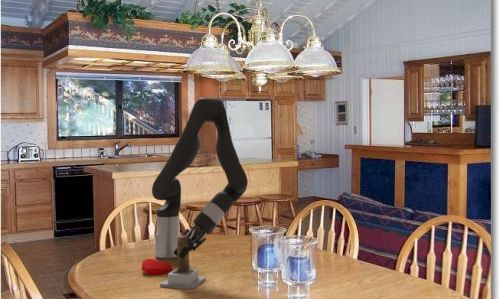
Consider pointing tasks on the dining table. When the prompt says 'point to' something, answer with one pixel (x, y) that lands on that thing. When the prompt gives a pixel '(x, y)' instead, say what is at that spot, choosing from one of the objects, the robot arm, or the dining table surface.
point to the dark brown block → (184, 263)
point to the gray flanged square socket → (183, 279)
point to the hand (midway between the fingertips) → (177, 255)
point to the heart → (156, 267)
